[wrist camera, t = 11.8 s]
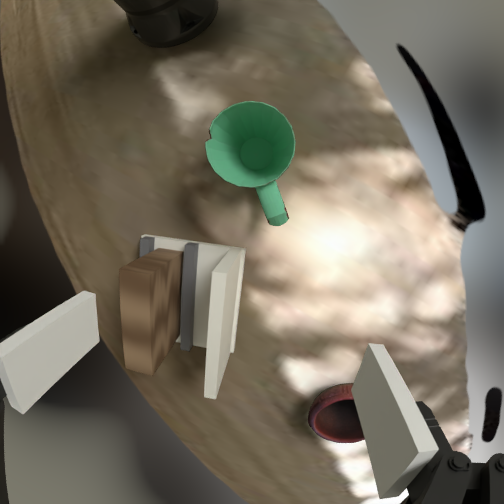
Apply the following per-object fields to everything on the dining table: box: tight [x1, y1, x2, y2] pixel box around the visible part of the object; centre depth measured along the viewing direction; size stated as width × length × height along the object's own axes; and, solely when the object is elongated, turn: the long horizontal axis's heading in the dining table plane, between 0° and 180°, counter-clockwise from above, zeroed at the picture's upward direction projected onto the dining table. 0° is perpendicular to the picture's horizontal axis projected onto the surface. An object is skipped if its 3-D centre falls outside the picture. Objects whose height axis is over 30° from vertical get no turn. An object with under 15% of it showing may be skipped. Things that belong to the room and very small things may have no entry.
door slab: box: [119, 248, 184, 376], centre depth 38 cm, size 14×4×12 cm, turn 173°
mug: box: [205, 101, 296, 226], centre depth 35 cm, size 15×10×10 cm
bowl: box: [308, 383, 365, 443], centre depth 43 cm, size 16×13×8 cm
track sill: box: [140, 234, 246, 399], centre depth 39 cm, size 17×16×13 cm
